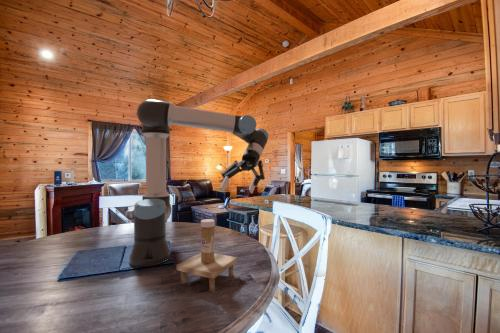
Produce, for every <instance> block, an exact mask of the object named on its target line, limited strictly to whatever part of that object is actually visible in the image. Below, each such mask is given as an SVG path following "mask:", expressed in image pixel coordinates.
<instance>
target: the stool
mask: <svg viewBox="0 0 500 333" xmlns="http://www.w3.org/2000/svg"><path fill="white" fill-rule="evenodd" d="M214 258H215V260H214V261H213V262H211V263H203V262H201V252H200V253H198V254H196V255H194V256H191V257H190V258H188V259H186V260H184V261H182V262H180V263H177V264H176V271H179V272H180V284H181V285H185V284H187V274H190V275H196V276H199V277H203V278H208V284H209V286H208V287H209V288H208V289H209V292H210V293H214V292H215V291H216V284H215V283H216V278H217V277H218V276H220V275H221V274H223V273H224V272H225V271H227V270H228V277H229V278H233V277H234V274H235V273H234V271H235V270H234V265H235V264H236V263H238V257H237V256H232V255H231V256H230V255H227V254H226V255H225V254H220V253H215V252H214Z"/></svg>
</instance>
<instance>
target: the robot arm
mask: <svg viewBox="0 0 500 333" xmlns="http://www.w3.org/2000/svg"><path fill="white" fill-rule="evenodd" d="M136 116H137V119H138V121H139V122H140V124H141V134H142V136H143V137H144V138H145V193H144V194H142V197H141V198H142V199H141V200H139V201H137V202H135V203H134V207H133V230H134V231H133V236H134V238H133V245H132V248H131V252H130V253H129V254H130V255H129V259H128V260H129V262H130V263H131V264H132V265H131V264H130V263H129V264H130V265H131V266H133V265H135V266H134V267H138V266H142V268H143V267H146V266H147V267H153V266H156V265H155V264H158V263H161V262H163V261H165V260H167V259H169V258H170V259H171V250H170V247H169V245H168V240H167V237H166V236H167V235H166V232H167V231H166V230H167V229H166V227H167V226H166V224H167V223H166V222H167V220H168V219H169V218H170V216H171V214H172V206H171V198H170V197H171V194H170V193H169V192H168V191H167V138H169V137H170V135H171V134H170V130H171V129H170V127H171V126H172V125H173V126H174V125H175V126H180V127H189V128H196V129H197V128H198V129H203V130H204V129H205V130H209V131H211V130H212V131H218V132H224V133H226V132H227V133H231V134H232V135H234V136H236V137H238V138H239V139H241V140H242V141H244V142H245V143H247V144H248V145H247V147H246V149H245V150H244V153H243V155H242V156H241V157H242V158H241V160H239V161H238V160H236V159H235V160H234V161H233V163H232V164H231V165H230V166H228V167H227V168H226V169H225V170H223V172H222V173H221V177H222V180H221V184H220V186H219V189H220V190H221V192H225V190H226V188H227V186H228V184H229V183H230V179H231V178H233V177H235V176H236V175H237V174H238V173H242V172H245V171H248V172H250V171H251V172H252V174H253V175H254V176H253V178H252V180H251V181H250V182H251V183H250V184H249V187H248V191H249V193H250V194H253V193H254V191H255V188H256V187H257V186H258V185H259V183H260V181H261V180H263V181H264V180H265V178H266V177H265V173H264V168H263V166H264V164H263V161H262V160H261V159H260V158H261V156H262V154H263V151H264V149H265V147H266V145H267V143H268V140H269V138H270V137H269V133H268V132H267V130H265V129H264V128H257V121H256V118H254V117H253V116H252V115H249V114H248V115H247V114H246V115H235V114H231V113H224V112H219V111H212V110H204V109H199V108H191V107H186V106H185V107H184V106H178V105H174V103H173V102H170V101H164V100H159V99H150V98H149V99H146V100H144V101H142V102H141V103H139V105H138V106H137V109H136ZM256 128H257V129H256ZM256 167H258V170H259V173H258V172H257V170H256V169H255V168H256ZM170 259H169V260H170ZM161 264H162V263H161ZM158 265H159V264H158ZM147 267H146V268H147Z"/></svg>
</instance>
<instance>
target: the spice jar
mask: <svg viewBox="0 0 500 333" xmlns="http://www.w3.org/2000/svg"><path fill="white" fill-rule="evenodd" d="M215 226H216V222H215V220H214V219H212V218H206V219H201V220H200V228H201V229H200V230H201V232H200V233H201V235H200V236H201V237H200V238H201V241H200V253H201V262H203V263H211V262H213V261H214V260H215V258H214V253H215V251H216V250H215V248H216V245H215Z"/></svg>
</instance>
